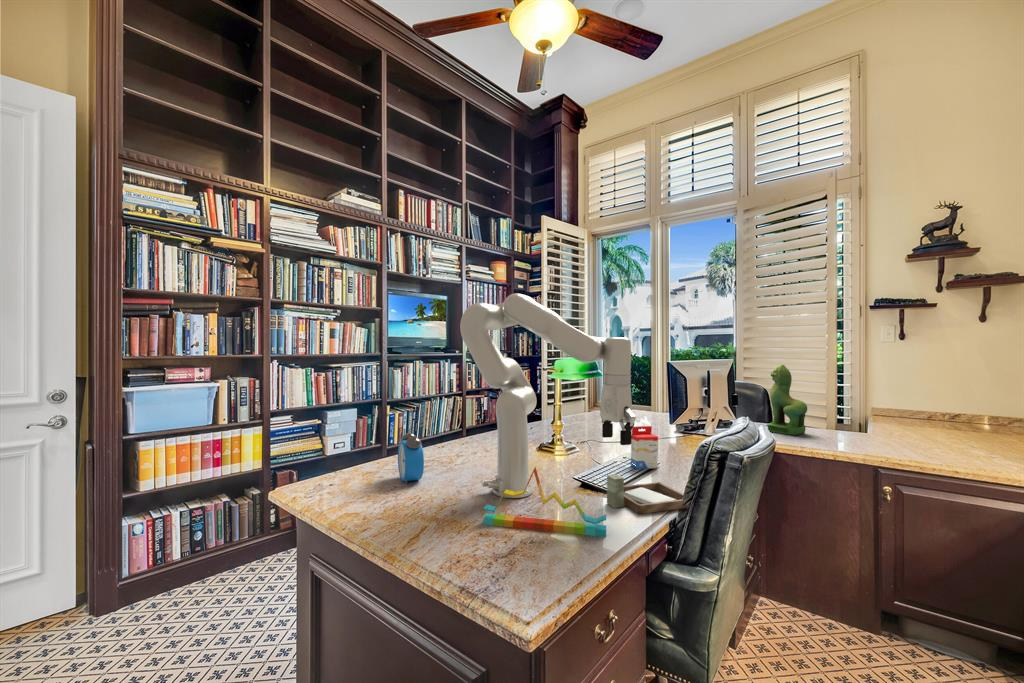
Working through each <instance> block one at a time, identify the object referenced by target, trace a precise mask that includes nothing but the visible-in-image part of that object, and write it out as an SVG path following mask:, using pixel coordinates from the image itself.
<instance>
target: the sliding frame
mask: <svg viewBox="0 0 1024 683" xmlns="http://www.w3.org/2000/svg"><path fill="white" fill-rule="evenodd" d="M606 476H607V478H606V503H607V504H608V505H610V506H611V507H612V508H614V509H615V508H624V507H628V508H629V509H631V510H632V511H634V512H636V513H637V514H639V515H642V514H651V513H657V512H664V511H673V510H682V509H689V508H693V507H694V504H693V505H692V504H691V505H683V506H681V505H682V501H683V499H682V498H683V494H684V493H682V492H680V491H678V490H676V489H674V488H673V487H672V488H671V487H669V486H668V485H666V484H663V483H662V482H660V481H659V482H648V483H640V484H639V483H638V484H630V485H625V478H624V477H623V476H621V475H619V474H618V473H616V474H615V473H613V474H607V475H606ZM640 487H643V488H646V489H648V490H651V491H654V492H657V491H660V492H661V493H662V494H663V493H664V494H665V495H666V496H668V497H671V498H674V499H676V500H673V501H665V502H657V503H648V504H643V503H640V502H638V501H635V500H632V499H631V498H629V497H627V496H626V495H624V492H626V491H629V490H633V489H636V488H640Z"/></svg>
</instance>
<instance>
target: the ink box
mask: <svg viewBox="0 0 1024 683" xmlns="http://www.w3.org/2000/svg"><path fill="white" fill-rule="evenodd" d="M652 430H653V428H652V426H651V425H646V426H645V425H644V426H643V425H640V426H639V425H638V426H633V430H632V434H631V445H630V466H631V467H634V469H637V470H640V469H641V470H642V469H643V470H644V469H658V463H659V462H658V458H659V457H658V456H659V453H658V452H659V451H658V450H659V446H658V445H659V436H658V435H655V434H653V433H652ZM632 463H633V464H635V465H636V466H635V465H633V464H632Z"/></svg>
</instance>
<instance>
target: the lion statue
mask: <svg viewBox="0 0 1024 683" xmlns="http://www.w3.org/2000/svg"><path fill="white" fill-rule="evenodd" d="M770 377H772V378H771V380H772V381H774V384H773V385H772V386H771V388H770V391H769V396H770V397H769V399H770V402H771V406H772V416H773V417H772V418H773V420H772V421H771V422H770V423H767V424H766V427H767V431H768V430H769V431H771V432H770V433H775V434H780V435H785V436H786V435H787V436H799V435H802V434H803V435H804V434H805V433H806V425H805V419H806V414H807V413H808V406H807V403H805V402H804V401H803V400H801V399H796V398H793V397H792V396H791V395H790V389H791V386H792V380H793V379H792V374H791V371H790V370H789V368H787V367H786V365H785V364H780V365H778V366H776V367H775V368H774V369H773V371H771V372H770ZM785 415H786V416H787V417H788V418H789V422H786V419H785V418H786V416H785ZM769 431H768V432H769Z"/></svg>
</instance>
